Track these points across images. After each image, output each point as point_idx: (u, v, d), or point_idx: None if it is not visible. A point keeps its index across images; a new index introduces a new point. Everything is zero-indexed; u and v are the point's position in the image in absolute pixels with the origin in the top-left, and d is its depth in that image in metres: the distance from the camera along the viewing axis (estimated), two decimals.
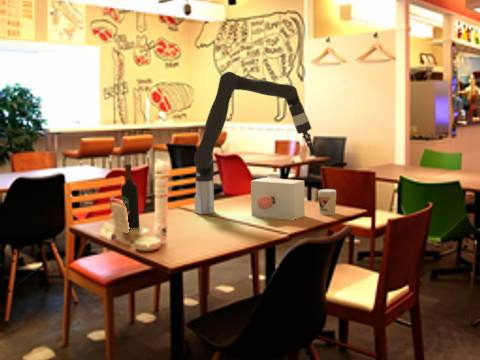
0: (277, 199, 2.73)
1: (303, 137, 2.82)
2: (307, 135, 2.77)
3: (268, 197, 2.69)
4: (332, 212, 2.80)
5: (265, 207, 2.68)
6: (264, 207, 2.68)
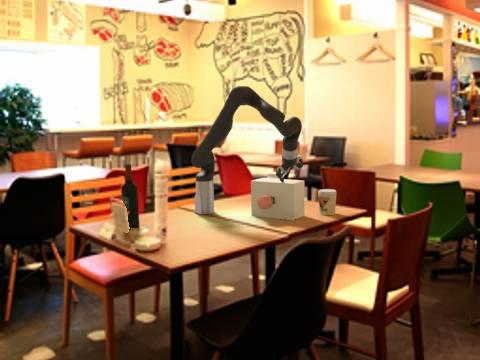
0: (277, 199, 2.73)
1: None
2: (278, 169, 2.65)
3: (268, 197, 2.69)
4: (332, 212, 2.80)
5: (265, 207, 2.68)
6: (264, 207, 2.68)
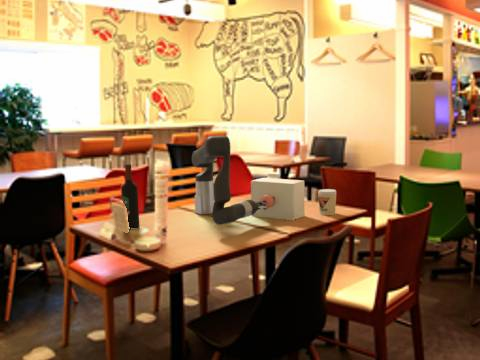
0: (277, 199, 2.73)
1: None
2: None
3: (270, 196, 2.70)
4: (332, 212, 2.80)
5: (267, 206, 2.69)
6: (266, 206, 2.69)
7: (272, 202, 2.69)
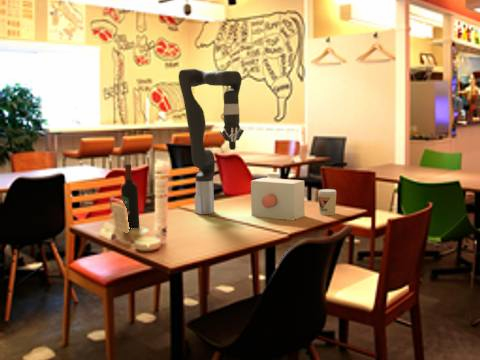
0: (277, 199, 2.73)
1: None
2: (222, 133, 2.62)
3: (272, 196, 2.72)
4: (332, 212, 2.80)
5: (269, 206, 2.71)
6: (268, 206, 2.71)
7: (275, 201, 2.72)
